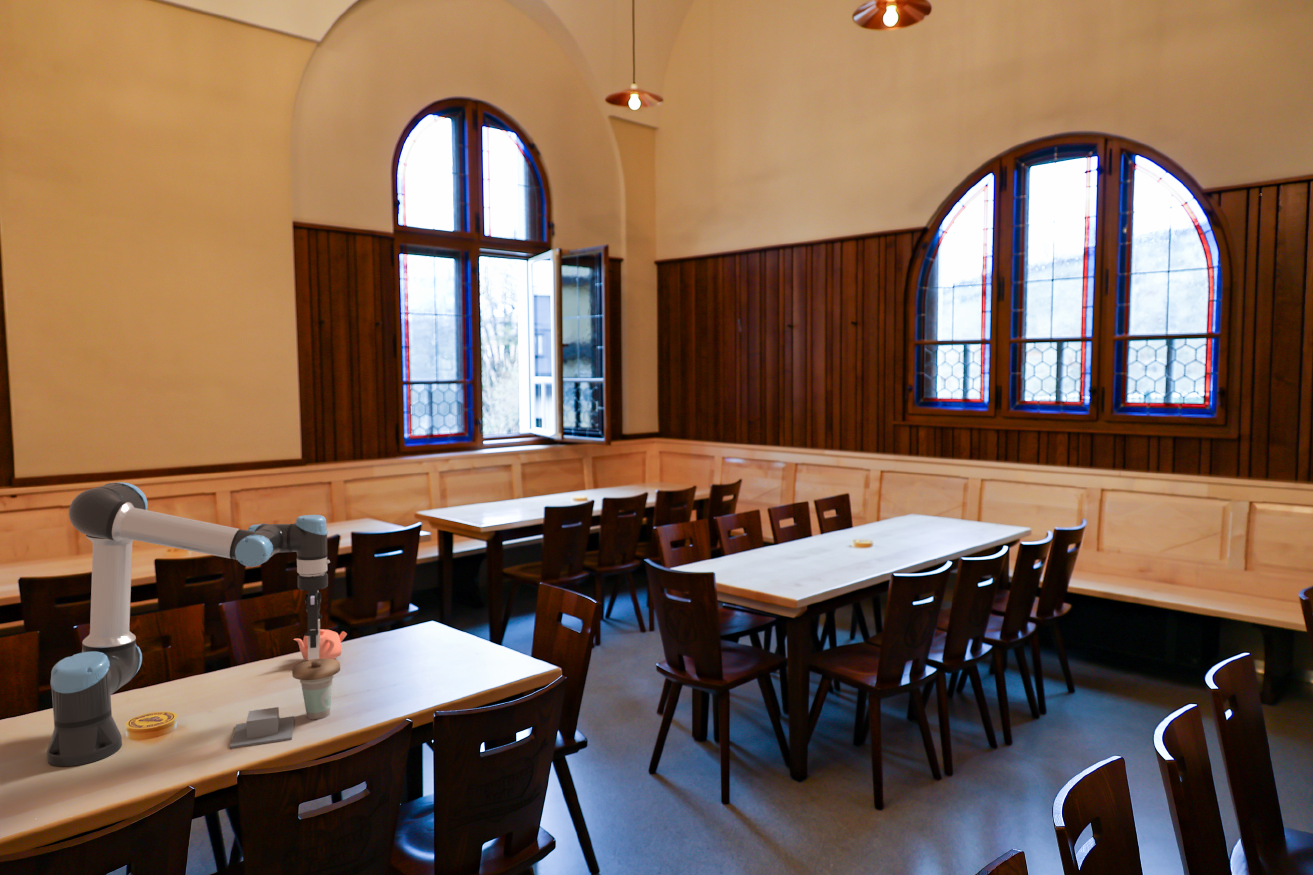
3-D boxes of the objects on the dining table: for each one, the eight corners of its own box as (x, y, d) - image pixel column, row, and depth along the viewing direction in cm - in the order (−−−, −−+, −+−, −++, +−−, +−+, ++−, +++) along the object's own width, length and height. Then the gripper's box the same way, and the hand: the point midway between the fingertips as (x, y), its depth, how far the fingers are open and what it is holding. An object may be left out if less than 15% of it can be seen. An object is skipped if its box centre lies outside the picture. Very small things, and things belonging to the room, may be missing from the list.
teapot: (313, 653, 277) (312, 623, 276) (349, 652, 276) (347, 622, 276) (294, 668, 262) (292, 637, 261) (331, 668, 262) (330, 636, 261)
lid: (290, 682, 218) (290, 672, 217) (293, 667, 229) (293, 657, 229) (340, 676, 222) (339, 666, 221) (340, 661, 233) (340, 652, 233)
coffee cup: (323, 722, 221) (321, 678, 220) (294, 720, 223) (292, 676, 222) (341, 709, 230) (340, 667, 229) (313, 707, 231) (312, 665, 230)
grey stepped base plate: (230, 748, 206) (229, 729, 206) (236, 726, 219) (235, 707, 219) (291, 739, 211) (290, 720, 211) (294, 718, 224) (293, 700, 224)
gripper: (327, 583, 213) (328, 664, 215) (328, 562, 236) (329, 635, 238) (295, 585, 210) (297, 667, 212) (299, 564, 234) (301, 638, 235)
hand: (314, 650), depth 225 cm, fingers open, 13 cm apart
